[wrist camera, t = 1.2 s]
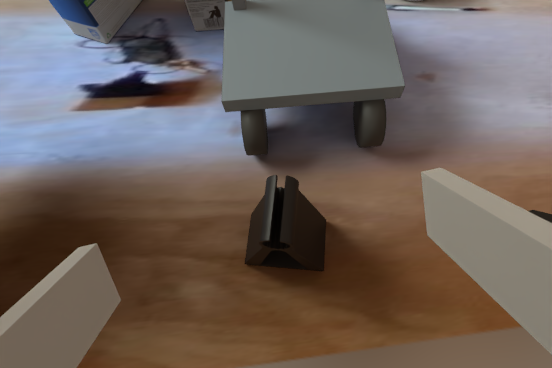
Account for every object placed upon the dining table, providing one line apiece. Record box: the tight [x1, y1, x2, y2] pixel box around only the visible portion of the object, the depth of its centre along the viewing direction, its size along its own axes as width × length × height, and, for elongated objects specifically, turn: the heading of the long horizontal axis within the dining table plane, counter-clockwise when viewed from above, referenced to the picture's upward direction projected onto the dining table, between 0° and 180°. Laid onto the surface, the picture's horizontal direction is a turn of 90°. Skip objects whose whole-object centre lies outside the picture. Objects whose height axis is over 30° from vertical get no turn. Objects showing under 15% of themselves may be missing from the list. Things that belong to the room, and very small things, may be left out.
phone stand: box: [245, 175, 326, 271], centre depth 34 cm, size 9×6×12 cm, turn 84°
